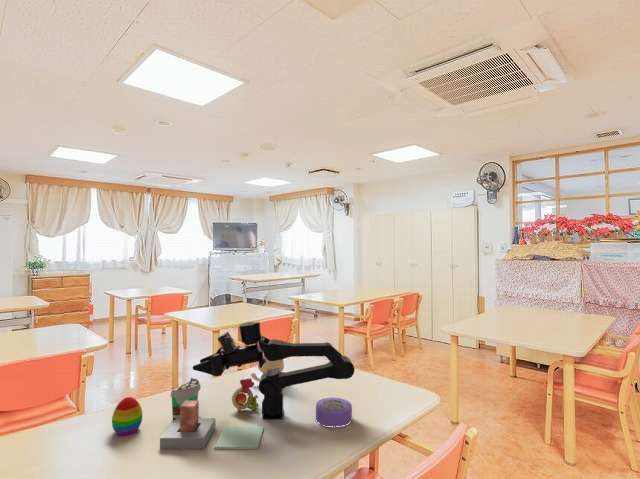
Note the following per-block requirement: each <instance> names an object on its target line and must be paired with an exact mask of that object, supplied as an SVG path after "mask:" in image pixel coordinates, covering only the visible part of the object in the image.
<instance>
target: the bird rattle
mask: <svg viewBox="0 0 640 479" xmlns="http://www.w3.org/2000/svg"><path fill="white" fill-rule="evenodd" d="M252 379H253V378H252V377H251V378H245V379H243V378H242V379H240V380H239V383H240V385H241V386H240V387H239V388H237V389H235V391H234V392H233V393H232V396H231V403H232V404H233V406H234V407H235V409H236V410H237V412H240V411H242V410H245V409H248V408H249V407H251V410H252V411H255V410H256V409H257V408H259V407H260V406H259V405H260V404H259V403H258V402H257V399H258V398H259V396H258V394H253V392H252V390H251V389H250V388H253V387H254V386H255V382H254V381H253V380H252ZM247 396H248V397H247Z"/></svg>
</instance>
